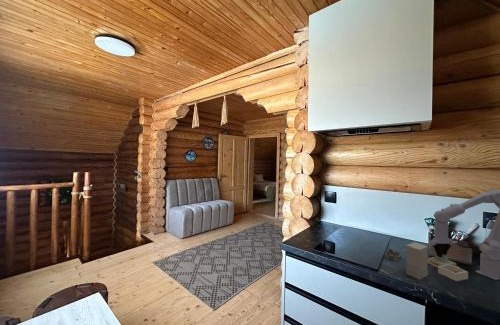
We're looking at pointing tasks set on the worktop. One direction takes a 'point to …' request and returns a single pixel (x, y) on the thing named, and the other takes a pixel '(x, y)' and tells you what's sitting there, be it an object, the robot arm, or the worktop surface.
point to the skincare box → (416, 260)
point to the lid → (441, 260)
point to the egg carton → (392, 255)
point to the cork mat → (437, 264)
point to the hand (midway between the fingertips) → (441, 256)
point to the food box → (455, 276)
